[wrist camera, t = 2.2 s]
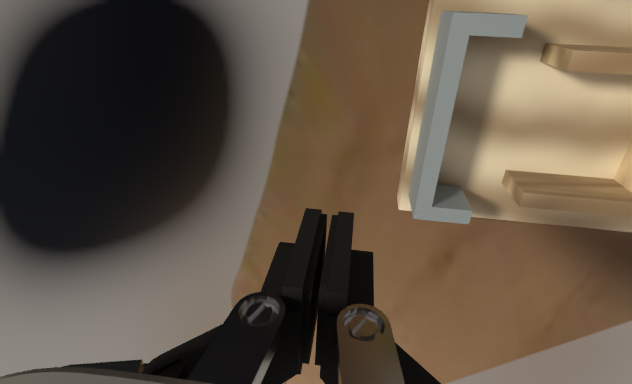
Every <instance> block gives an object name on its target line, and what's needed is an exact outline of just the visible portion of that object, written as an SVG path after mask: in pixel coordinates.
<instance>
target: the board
mask: <svg viewBox="0 0 632 384" xmlns="http://www.w3.org/2000/svg"><path fill="white" fill-rule="evenodd" d="M441 11H465V12H488V13H508V14H518V15H528V17H527V21H526V24H525V28H524V31H523V35H522V38H512V37H491V36H471V35H469V40H468V44H467V49H466V53H465V58H464V62H463V67H462V72H461V76H460V81H459V85H458V90H457V94H456V99H455V104H454V108H453V113H452V117H451V122H450V126H449V131H448V136H447V140H446V145H445V149H444V154H443V158H442V163H441V167H440V172H439V177H438V181H437V185H447V186H458V187H461V188H462V190H463V192H464V194H465V196H466V198H467V200H468V202H469V204H470V206H471V208H472V211H473V212H472V215H471V217H479V218H489V219H499V220H510V221H520V222H530V223H541V224H551V225H561V226H571V227H582V228H592V229H602V230H612V231H623V232H632V0H429V4H428V10H427V16H426V22H425V28H424V34H423V41H422V47H421V53H420V59H419V65H418V71H417V77H416V84H415V90H414V96H413V102H412V108H411V114H410V120H409V126H408V133H407V139H406V145H405V151H404V157H403V163H402V169H401V176H400V182H399V188H398V194H397V200H398V207H399V210H407V211H412V210H411V205H410V200H409V195H408V194H409V189H410V183H411V177H412V172H413V166H414V161H415V155H416V150H417V144H418V138H419V133H420V127H421V122H422V116H423V111H424V105H425V99H426V94H427V88H428V83H429V77H430V72H431V66H432V60H433V55H434V49H435V44H436V38H437V33H438V27H439V21H440V16H441Z"/></svg>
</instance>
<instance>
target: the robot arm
mask: <svg viewBox="0 0 632 384" xmlns="http://www.w3.org/2000/svg"><path fill="white" fill-rule="evenodd" d="M353 219H354V213H349V212H339V213H338V215H332V219H331V225H330V231H329V236H328V242H327V248H326V253H325V242H326V226H327V214H322V210H318V209H308V208H306V210H305V213H304V216H303V220H302V223H301V226H300V229H299V233H298V236H297V239H296V242H295V243H285V242H280V243H279V245H278V247H277V250H276V252H275V255H274V258H273V260H272V263H271V266H270V268H269V271H268V274H267V276H266V279H265V282H264V284H263V287H262V290H261V292H254V293H251V294H248V295H246V296H244V297H243V298H241V299H240V300H239V301H238V302H237V303H236V305H235V306H234V308H233V309H232V311H231V312H230V314H229V315H228V317H227V318H226V320H225V321H224V323H223V324H222V325H220V326H218V327H216V328H214V329H212V330H210V331H208V332H206V333H204V334H202V335H200V336H198V337H196V338H193V339H191V340H189V341H187V342H186V343H183V344H181V345H179V346H177V347H175V348H173V349H171V350H170V351H167V352H165V353H163V354H161V355H160V356H158V357H157V358H155V359H153V360H152V361H151V362H150V363H144V364H143V361H142V359H141V360H128V361H114V362H100V363H86V364H72V365H67V366H62V367H52V368H41V369H32V370H27V371H22V372H17V373H13V374H8V375H4V376H1V377H0V384H286V381H287V380H289V379H290V378H292V377H293V376H295V375H296V374H301V369H302V363H306V364H309V361H310V355H311V349H312V343H313V337H314V331H315V326H316V320H317V337H316V356H315V365H320V366H321V368H320V378H321V379H322V380H323V381H324V383H325V384H441V383H440V382H438V381H437V380H436V379H435V378H434V377H433V376H432V375H431V374H430V373H428V372H427V371H426V370H425V369H424V368H423V367H422V366H421V365H420V364H418V363H417V362H416V361H415V360H414V359H413V358H412V357H411V356H410V355H408V354H407V353H406V352H405V351H404V350H403V349H402V348H401V347H400V346H398V345H397V344H396V343H395V342H394V338H393V334H392V329H391V325H390V323H389V320H388V318H387V317H386V316H385V314H384V313H383V312H382V311H380V310H379V309H377V308H376V307H374V285H373V252H368V251H359V250H351V246H352V233H353ZM317 314H318V318H317Z"/></svg>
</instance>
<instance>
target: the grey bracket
mask: <svg viewBox="0 0 632 384" xmlns="http://www.w3.org/2000/svg"><path fill="white" fill-rule="evenodd" d="M527 17H528V15H518V14H508V13H488V12H465V11H441V16H440V21H439V27H438V33H437V38H436V44H435V49H434V55H433V60H432V66H431V72H430V77H429V83H428V88H427V94H426V99H425V105H424V111H423V116H422V122H421V127H420V133H419V138H418V144H417V150H416V155H415V161H414V166H413V172H412V177H411V183H410V189H409V194H408V195H409V200H410V205H411V210H412V215H413V219H421V220H431V221H441V222H451V223H461V224H469V222H470V219H471V215H472V212H473V211H472V208H471V206H470V204H469V202H468V200H467V198H466V196H465V194H464V192H463V190H462V188H461V187H458V186H447V185H437V181H438V177H439V172H440V167H441V163H442V158H443V154H444V149H445V145H446V140H447V136H448V131H449V126H450V122H451V117H452V113H453V108H454V104H455V99H456V94H457V90H458V85H459V81H460V76H461V72H462V67H463V62H464V58H465V53H466V49H467V44H468V40H469V35H471V36H491V37H512V38H522V35H523V31H524V28H525V24H526V21H527Z"/></svg>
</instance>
